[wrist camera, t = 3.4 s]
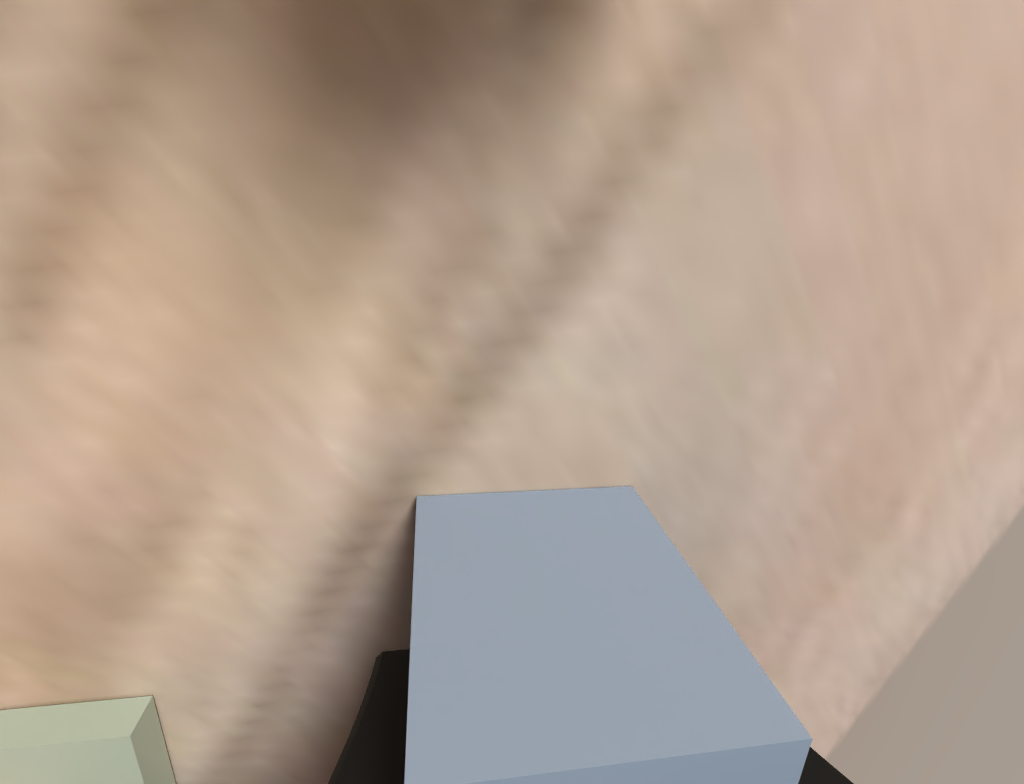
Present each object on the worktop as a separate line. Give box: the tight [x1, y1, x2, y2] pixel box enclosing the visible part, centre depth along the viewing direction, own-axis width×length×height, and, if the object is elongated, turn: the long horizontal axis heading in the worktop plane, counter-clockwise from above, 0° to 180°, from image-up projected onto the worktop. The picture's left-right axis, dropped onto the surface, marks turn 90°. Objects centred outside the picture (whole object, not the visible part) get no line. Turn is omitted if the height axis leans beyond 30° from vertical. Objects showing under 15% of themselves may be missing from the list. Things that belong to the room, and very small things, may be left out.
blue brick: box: [404, 486, 812, 784], centre depth 8 cm, size 6×4×5 cm, turn 179°
